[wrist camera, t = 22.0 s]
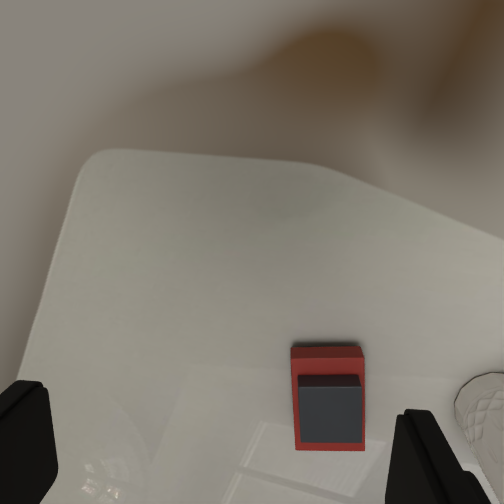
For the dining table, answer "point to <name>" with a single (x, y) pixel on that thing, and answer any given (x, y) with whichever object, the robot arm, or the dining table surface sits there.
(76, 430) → the dining table surface
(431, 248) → the dining table surface
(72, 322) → the dining table surface
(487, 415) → the white cup
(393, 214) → the dining table surface
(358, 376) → the toy car
